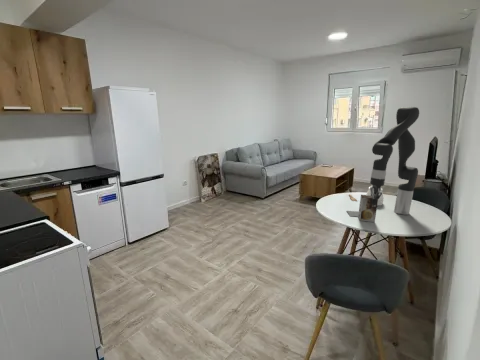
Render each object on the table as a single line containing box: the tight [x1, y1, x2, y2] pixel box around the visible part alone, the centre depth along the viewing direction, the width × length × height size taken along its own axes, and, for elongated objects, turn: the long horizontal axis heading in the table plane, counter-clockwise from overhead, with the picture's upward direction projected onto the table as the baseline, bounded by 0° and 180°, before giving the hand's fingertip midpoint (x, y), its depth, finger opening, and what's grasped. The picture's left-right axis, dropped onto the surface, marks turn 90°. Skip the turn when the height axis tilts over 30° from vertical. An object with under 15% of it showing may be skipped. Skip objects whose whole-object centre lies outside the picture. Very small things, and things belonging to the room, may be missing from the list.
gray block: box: [346, 210, 359, 218], centre depth 179 cm, size 10×16×1 cm, turn 82°
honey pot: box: [365, 185, 385, 206], centre depth 204 cm, size 13×13×18 cm
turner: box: [348, 194, 358, 202], centre depth 216 cm, size 15×4×1 cm, turn 172°
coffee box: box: [357, 194, 378, 223], centre depth 169 cm, size 9×6×16 cm
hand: (373, 204), depth 159 cm, fingers closed
